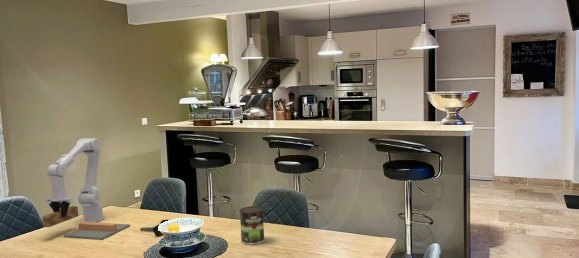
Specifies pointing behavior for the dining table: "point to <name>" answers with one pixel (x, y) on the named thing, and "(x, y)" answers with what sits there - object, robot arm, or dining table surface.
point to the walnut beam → (59, 217)
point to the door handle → (153, 229)
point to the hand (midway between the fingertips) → (61, 216)
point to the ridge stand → (96, 230)
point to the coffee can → (252, 225)
